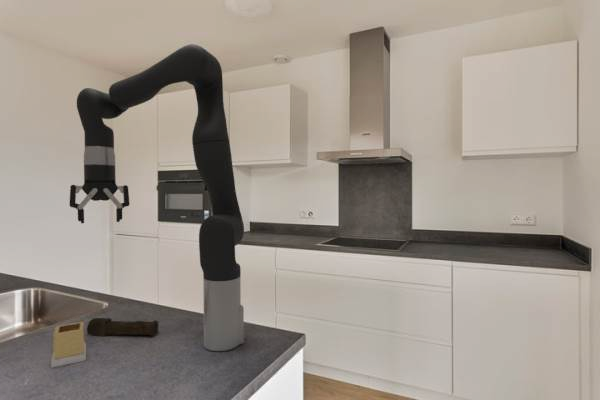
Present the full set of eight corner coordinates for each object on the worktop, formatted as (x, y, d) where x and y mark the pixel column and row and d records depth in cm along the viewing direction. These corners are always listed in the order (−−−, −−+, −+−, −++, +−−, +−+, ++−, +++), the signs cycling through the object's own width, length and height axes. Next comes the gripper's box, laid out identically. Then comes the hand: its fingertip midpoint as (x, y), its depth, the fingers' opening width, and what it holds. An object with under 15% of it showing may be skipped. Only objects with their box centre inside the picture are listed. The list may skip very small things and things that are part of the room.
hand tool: (160, 332, 95) (159, 316, 94) (153, 338, 91) (152, 321, 90) (94, 331, 96) (93, 314, 95) (84, 337, 92) (84, 320, 91)
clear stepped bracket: (86, 333, 93) (86, 316, 93) (85, 360, 79) (85, 340, 78) (58, 338, 90) (57, 321, 90) (51, 367, 75) (50, 347, 75)
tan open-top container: (84, 343, 84) (83, 321, 83) (83, 353, 79) (83, 329, 79) (56, 349, 81) (55, 326, 80) (54, 359, 76) (53, 334, 76)
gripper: (68, 162, 88) (69, 225, 88) (129, 164, 95) (130, 222, 96) (69, 163, 94) (70, 222, 95) (127, 165, 101) (128, 220, 102)
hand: (100, 222), depth 95 cm, fingers open, 8 cm apart
